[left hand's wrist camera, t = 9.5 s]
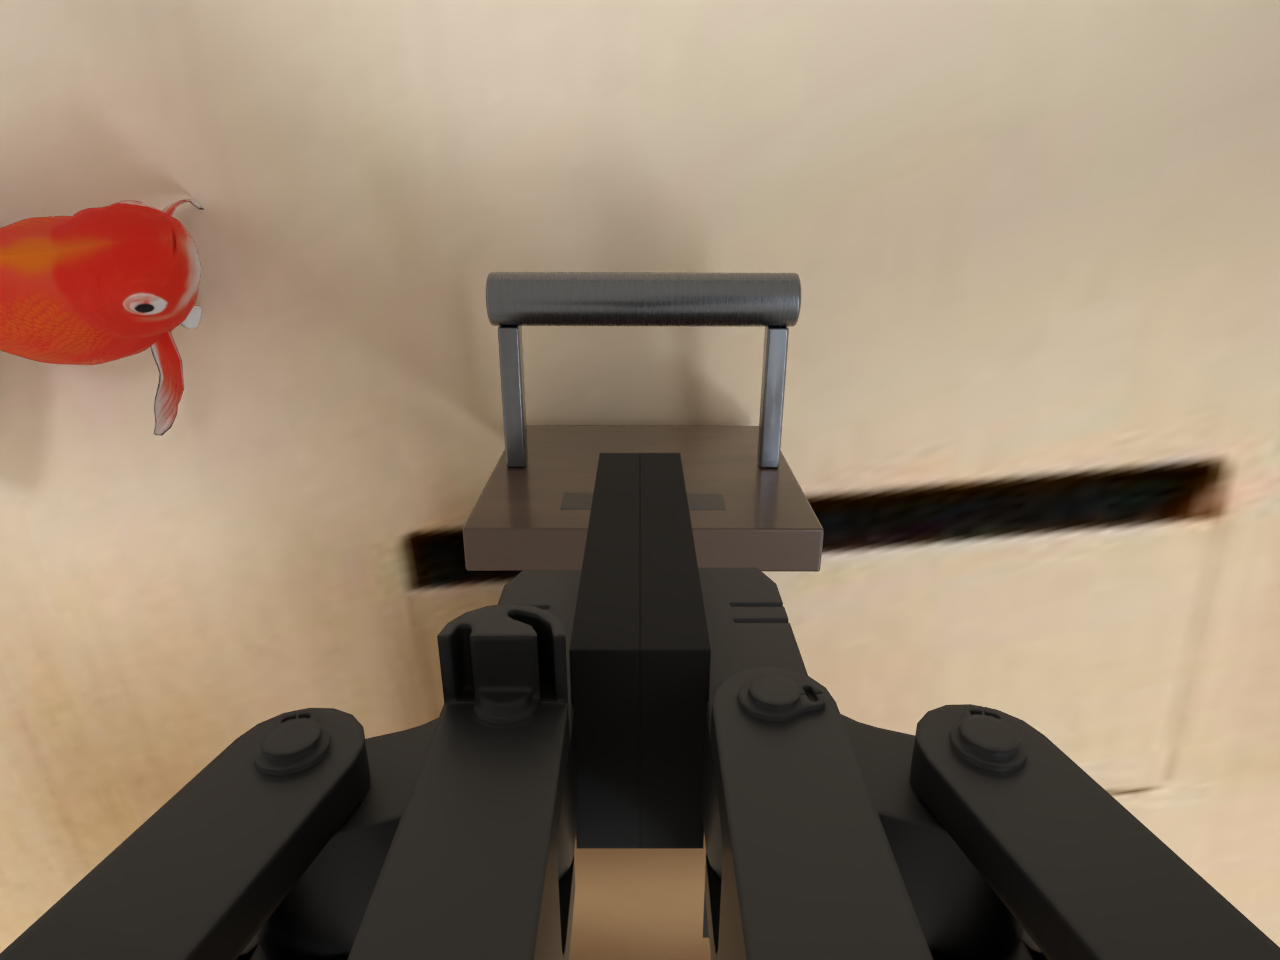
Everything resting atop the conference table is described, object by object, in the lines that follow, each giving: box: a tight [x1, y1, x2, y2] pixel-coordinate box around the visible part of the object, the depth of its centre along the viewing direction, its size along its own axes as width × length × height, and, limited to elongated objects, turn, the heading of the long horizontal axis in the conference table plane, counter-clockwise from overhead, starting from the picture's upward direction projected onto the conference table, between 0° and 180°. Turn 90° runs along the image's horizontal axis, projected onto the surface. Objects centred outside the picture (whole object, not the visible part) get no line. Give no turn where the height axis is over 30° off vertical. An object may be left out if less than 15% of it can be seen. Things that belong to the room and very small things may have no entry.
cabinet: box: [569, 835, 711, 960], centre depth 30 cm, size 20×10×11 cm, turn 0°
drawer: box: [463, 272, 824, 571], centre depth 26 cm, size 25×9×9 cm, turn 0°
